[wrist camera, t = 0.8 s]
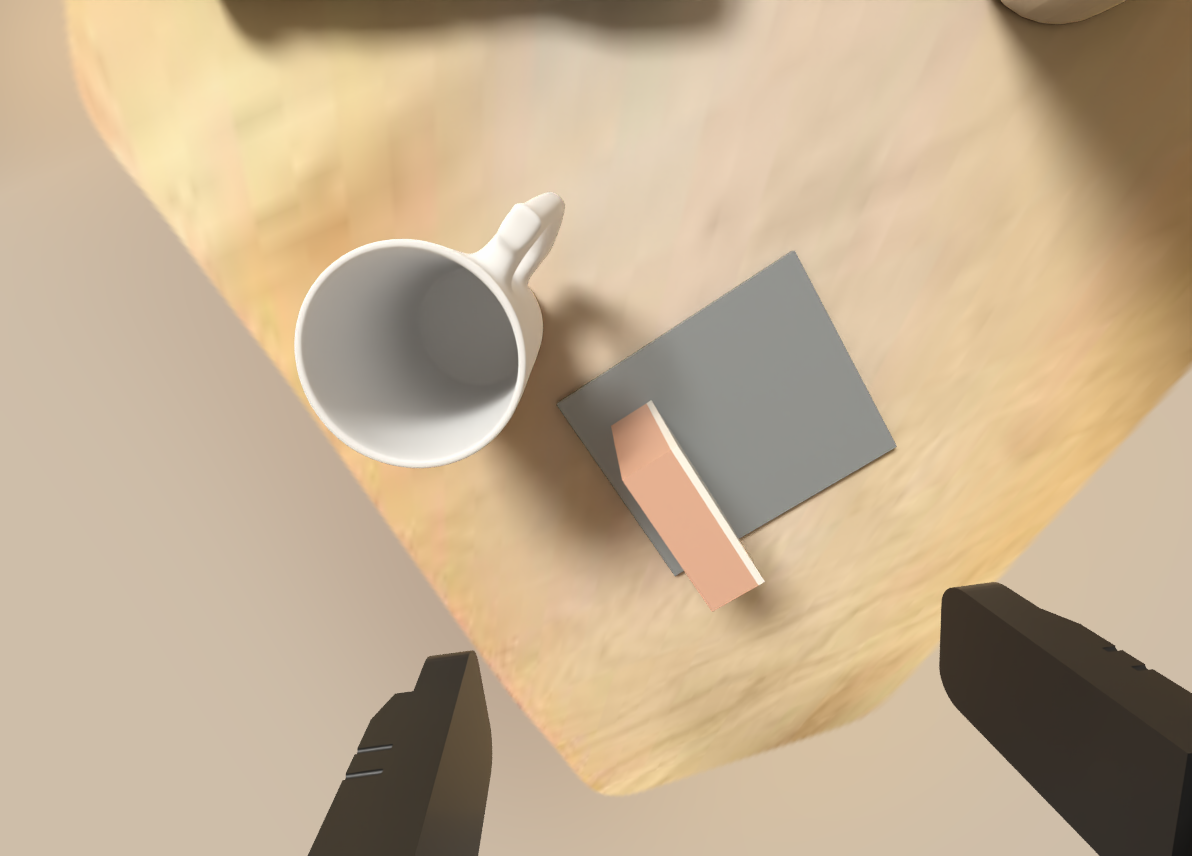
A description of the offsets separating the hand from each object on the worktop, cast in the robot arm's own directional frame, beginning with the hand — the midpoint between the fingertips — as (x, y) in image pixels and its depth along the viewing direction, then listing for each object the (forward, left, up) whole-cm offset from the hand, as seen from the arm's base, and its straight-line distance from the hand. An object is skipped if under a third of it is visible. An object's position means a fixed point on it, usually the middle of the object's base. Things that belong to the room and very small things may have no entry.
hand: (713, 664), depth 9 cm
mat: (-4, +4, -20) cm, 21 cm away
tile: (0, +4, -20) cm, 20 cm away
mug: (+2, -8, -21) cm, 22 cm away
